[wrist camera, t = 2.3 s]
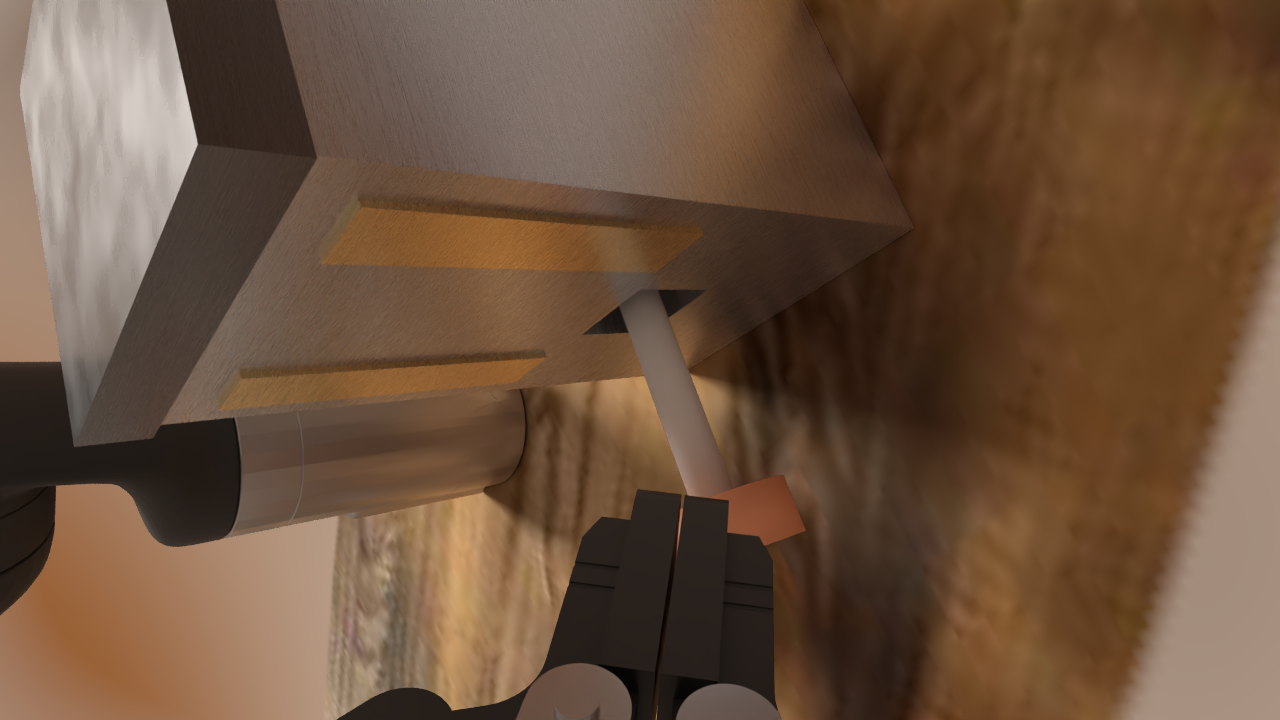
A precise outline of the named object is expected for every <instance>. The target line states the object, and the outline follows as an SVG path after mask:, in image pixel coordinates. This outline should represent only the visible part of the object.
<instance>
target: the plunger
mask: <svg viewBox="0 0 1280 720" xmlns="http://www.w3.org/2000/svg"><path fill="white" fill-rule="evenodd" d="M619 307H620V310H621V313H622V316H623V318H624V321H625V324H626V327H627V329H628V332H629V335H630V338H631V340H632V343H633V346H634V349H635V351H636V354H637V357H638V360H639V362H640V365H641V368H642V370H643V373H644V376H645V379H646V381H647V384H648V387H649V390H650V392H651V395H652V398H653V401H654V403H655V406H656V409H657V412H658V414H659V417H660V420H661V423H662V425H663V428H664V431H665V434H666V436H667V439H668V442H669V445H670V447H671V450H672V453H673V456H674V458H675V461H676V464H677V466H678V469H679V472H680V475H681V477H682V480H683V483H684V486H685V488H686V491H687V494H688V495H689V496H697V497H705V498H714V499H722V500H729V512H728V529H727V532H728V533H736V534H744V535H753V536H759V537H760V539H761V541H762V543H763V544H764V546H766V545H768V544H771V543H774V542H776V541H779V540H782V539H785V538H787V537H790V536H793V535H796V534H798V533H801V532H804V531H806V530H805V527H804V525H803V522H802V520H801V517H800V515H799V512H798V510H797V507H796V505H795V502H794V500H793V497H792V495H791V492H790V490H789V487H788V485H787V482H786V480H785V477H784V476H783V475H779V476H774V477H770V478H766V479H762V480H759V481H756V482H752V483H749V484H746V485H743V486H740V487H737V488H733V486H732V483H731V480H730V478H729V475H728V472H727V470H726V467H725V465H724V462H723V459H722V457H721V454H720V451H719V449H718V446H717V444H716V441H715V438H714V436H713V433H712V431H711V428H710V425H709V423H708V420H707V417H706V415H705V412H704V410H703V407H702V404H701V402H700V399H699V396H698V394H697V391H696V389H695V386H694V383H693V381H692V378H691V375H690V373H689V370H688V368H687V365H686V362H685V360H684V357H683V354H682V352H681V349H680V347H679V344H678V341H677V339H676V336H675V334H674V331H673V328H672V326H671V323H670V320H669V318H668V315H667V313H666V310H665V307H664V305H663V302H662V299H661V297H660V294H659V292H658V289H640V290H639V291H637V292H636V293H635V294H633V295H632V296H631V297H630V298H628V299H627V300H626V301H624V302H623V303H622V304H621V305H619ZM682 513H683V508H681V509H680V520H679V532H678V542H679V535H680V527H681V520H682ZM677 549H678V544H677Z"/></svg>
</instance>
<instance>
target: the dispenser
mask: <svg viewBox="0 0 1280 720" xmlns="http://www.w3.org/2000/svg"><path fill="white" fill-rule="evenodd" d="M20 96H21V103H22V109H23V116H24V122H25V129H26V136H27V142H28V148H29V155H30V162H31V168H32V175H33V181H34V188H35V195H36V201H37V208H38V214H39V220H40V227H41V234H42V240H43V246H44V253H45V260H46V266H47V273H48V280H49V286H50V292H51V299H52V305H53V312H54V318H55V324H56V332H57V338H58V344H59V352H60V358H61V365H62V371H63V378H64V384H65V391H66V397H67V404H68V410H69V417H70V423H71V430H72V437H73V443H74V447H79V446H88V445H97V444H106V443H115V442H124V441H133V440H142V439H151V438H153V437H154V436H155V434H156V432H157V431H158V429H159V427H160V426H161V425H165V424H175V423H185V422H195V421H205V420H215V419H224V418H234V417H244V416H254V415H264V414H274V413H284V412H294V411H304V410H313V409H323V408H333V407H343V406H353V405H363V404H373V403H383V402H393V401H402V400H412V399H422V398H432V397H442V396H452V395H462V394H472V393H482V392H491V391H501V390H511V389H521V388H531V387H541V386H551V385H561V384H570V383H580V382H590V381H600V380H610V379H620V378H630V377H640V376H644V373H643V370H642V368H641V365H640V362H639V360H638V357H637V354H636V351H635V349H634V346H633V343H632V340H631V338H630V335H629V332H628V329H627V327H626V324H625V321H624V318H623V316H622V313H621V310H620V307H619V305H621V304H622V303H623V302H624V301H626V300H627V299H628V298H630V297H631V296H632V295H633V294H635V293H636V292H637V291H639V290H640V289H658V292H659V294H660V297H661V299H662V302H663V305H664V307H665V310H666V313H667V315H668V318H669V320H670V323H671V326H672V328H673V331H674V334H675V336H676V339H677V341H678V344H679V347H680V349H681V352H682V354H683V357H684V360H685V362H686V365H687V368H688V370H689V369H690V368H692V367H693V366H695V365H697V364H698V363H700V362H701V361H703V360H705V359H706V358H708V357H709V356H711V355H713V354H714V353H716V352H717V351H719V350H721V349H722V348H724V347H725V346H727V345H729V344H730V343H732V342H733V341H735V340H737V339H738V338H740V337H741V336H743V335H745V334H746V333H748V332H749V331H751V330H753V329H754V328H756V327H757V326H759V325H760V324H762V323H764V322H765V321H767V320H768V319H770V318H772V317H773V316H775V315H776V314H778V313H780V312H781V311H783V310H784V309H786V308H788V307H789V306H791V305H792V304H794V303H796V302H797V301H799V300H800V299H802V298H804V297H805V296H807V295H808V294H810V293H812V292H813V291H815V290H816V289H818V288H820V287H821V286H823V285H824V284H826V283H827V282H829V281H831V280H832V279H834V278H835V277H837V276H839V275H840V274H842V273H843V272H845V271H847V270H848V269H850V268H851V267H853V266H855V265H856V264H858V263H859V262H861V261H863V260H864V259H866V258H867V257H869V256H871V255H872V254H874V253H875V252H877V251H879V250H880V249H882V248H883V247H885V246H887V245H888V244H890V243H891V242H893V241H894V240H896V239H898V238H899V237H901V236H902V235H904V234H906V233H907V232H909V231H910V230H912V229H914V226H913V224H912V222H911V219H910V217H909V215H908V213H907V211H906V209H905V207H904V205H903V203H902V201H901V199H900V197H899V195H898V193H897V191H896V189H895V187H894V185H893V183H892V181H891V179H890V177H889V175H888V173H887V170H886V168H885V166H884V164H883V162H882V160H881V158H880V156H879V154H878V152H877V150H876V148H875V146H874V144H873V142H872V140H871V138H870V136H869V134H868V132H867V130H866V128H865V126H864V123H863V121H862V119H861V117H860V115H859V113H858V111H857V109H856V107H855V105H854V103H853V101H852V99H851V97H850V95H849V93H848V91H847V89H846V87H845V85H844V83H843V81H842V79H841V76H840V74H839V72H838V70H837V68H836V66H835V64H834V62H833V60H832V58H831V56H830V54H829V52H828V50H827V48H826V46H825V44H824V42H823V40H822V38H821V36H820V34H819V32H818V29H817V27H816V25H815V23H814V21H813V19H812V17H811V15H810V13H809V11H808V9H807V7H806V5H805V3H804V1H803V0H33V6H32V12H31V19H30V26H29V33H28V39H27V46H26V53H25V59H24V66H23V73H22V79H21V86H20Z"/></svg>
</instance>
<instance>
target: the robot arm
mask: <svg viewBox="0 0 1280 720" xmlns="http://www.w3.org/2000/svg"><path fill="white" fill-rule="evenodd" d="M525 426H526V425H525V412H524V406H523V401H522V396H521V393H520V390H519V389H511V390H501V391H491V392H482V393H472V394H462V395H452V396H442V397H432V398H422V399H412V400H402V401H393V402H383V403H373V404H363V405H353V406H343V407H333V408H323V409H313V410H304V411H294V412H284V413H274V414H264V415H254V416H244V417H234V418H224V419H215V420H205V421H195V422H185V423H175V424H165V425H161V426H160V427H159V429H158V431H157V432H156V434H155V436H154V437H153V438H151V439H142V440H133V441H124V442H115V443H106V444H97V445H88V446H79V447H74V443H73V437H72V430H71V423H70V417H69V410H68V404H67V397H66V391H65V384H64V378H63V371H62V365H61V362H0V615H1V614H2V613H3V612H4V611H5V610H7V609H8V608H9V607H10V606H11V605H13V604H14V603H15V602H16V601H17V600H18V599H19V598H20V597H21V596H22V595H23V594H24V593H25V592H26V591H27V590H28V588H29V587H30V586H31V585H32V583H33V582H34V581H35V579H36V578H37V577H38V575H39V574H40V572H41V571H42V569H43V567H44V565H45V563H46V561H47V558H48V555H49V553H50V548H51V545H52V540H53V535H54V527H55V501H56V485H73V484H114V485H118V486H120V487H121V488H123V489H124V490H126V491H127V492H128V493H129V494H130V495H131V496H132V497H133V499H134V501H135V503H136V506H137V508H138V511H139V513H140V515H141V517H142V519H143V522H144V523H145V525H146V527H147V529H148V531H149V532H150V533H151V535H152V536H153V537H154V538H155V539H156V540H157V541H158V542H160V543H162V544H164V545H166V546H173V547H174V546H175V547H180V546H188V545H194V544H199V543H204V542H209V541H214V540H220V539H224V538H229V537H233V536H239V535H244V534H249V533H254V532H259V531H264V530H269V529H274V528H279V527H283V526H288V525H293V524H298V523H303V522H308V521H313V520H319V519H324V518H328V517H334V516H339V515H344V514H346V515H347V516H348V517H350V518H361V517H366V516H371V515H376V514H381V513H386V512H390V511H395V510H400V509H405V508H410V507H415V506H420V505H425V504H430V503H435V502H439V501H444V500H449V499H454V498H459V497H464V496H469V495H474V494H479V493H482V491H483V490H484V488H485V487H487V486H492V485H497V484H500V483H502V482H504V481H506V480H507V479H508V478H509V477H510V476H511V475H512V474H513V472H514V471H515V469H516V467H517V466H518V463H519V461H520V458H521V455H522V452H523V447H524V441H525ZM680 509H681V494H673V493H665V492H657V491H648V490H640V489H638V490H637V493H636V497H635V501H634V506H633V510H632V515H631V519H630V520H624V519H616V518H608V517H601V518H600V519H599V520H598V521H597V522H596V523H595V524H594V525H593V526H592V527H591V528H590V530H589V531H588V532H587V533H586V534H585V535H584V536H583V537H582V541H581V544H580V547H579V551H578V554H577V557H576V561H575V566H574V567H573V571H572V574H571V578H570V581H569V586H568V588H567V591H566V594H565V598H564V601H563V604H562V608H561V611H560V614H559V618H558V621H557V624H556V628H555V631H554V635H553V638H552V641H551V645H550V648H549V651H548V655H547V658H546V661H545V664H544V666H543V668H542V670H541V672H540V673H539V675H538V676H537V678H536V679H535V680H534V681H533V682H532V683H531V684H530V685H529V686H528V687H527V688H526V689H525V690H523V691H522V692H520V693H519V694H517V695H515V696H513V697H511V698H509V699H507V700H505V701H502V702H499V703H496V704H491V705H487V706H480V707H473V708H467V709H460V710H454V711H452V710H451V708H450V707H449V705H448V704H447V703H446V702H445V701H444V700H443V699H442V698H441V697H440V696H438V695H436V694H435V693H433V692H430V691H428V690H424V689H419V688H399V689H394V690H390V691H386V692H384V693H381V694H379V695H377V696H375V697H373V698H371V699H369V700H368V701H366V702H364V703H363V704H361V705H359V706H358V707H356V708H355V709H353V710H351V711H350V712H348V713H346V714H345V715H343V716H342V717H340V718H338V719H337V720H656V713H657V720H782V718H781V716H780V714H779V712H778V709H777V706H776V702H775V692H774V624H773V561H772V559H771V557H770V555H769V553H768V552H767V550H766V548H765V546H764V544H763V543H762V541H761V539H760V537H759V536H753V535H744V534H736V533H728V532H727V529H728V512H729V500H722V499H714V498H705V497H697V496H689V495H685V499H684V506H683V513H682V520H681V527H680V535H679V542H678V532H679V520H680ZM677 544H678V549H677ZM657 706H658V708H657Z"/></svg>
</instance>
